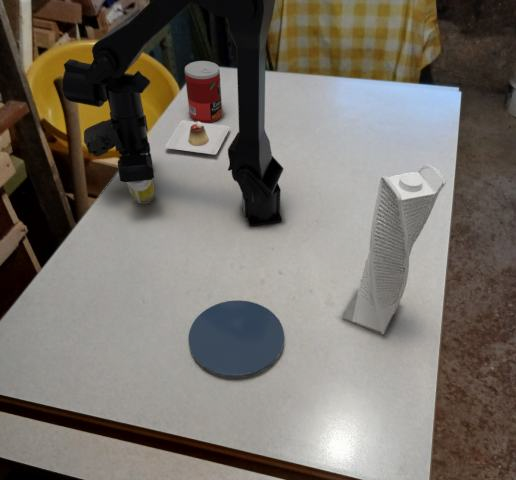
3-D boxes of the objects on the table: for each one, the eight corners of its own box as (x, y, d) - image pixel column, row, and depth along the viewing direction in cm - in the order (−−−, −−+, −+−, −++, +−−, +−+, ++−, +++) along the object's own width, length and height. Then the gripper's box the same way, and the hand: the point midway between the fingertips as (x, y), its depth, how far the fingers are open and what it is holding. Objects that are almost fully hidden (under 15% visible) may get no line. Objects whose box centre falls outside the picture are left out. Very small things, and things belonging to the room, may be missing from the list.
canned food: (218, 125, 120) (214, 77, 111) (185, 121, 121) (179, 74, 112) (225, 109, 125) (223, 62, 116) (194, 105, 126) (189, 59, 117)
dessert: (164, 152, 113) (161, 131, 109) (182, 124, 120) (179, 104, 116) (216, 159, 111) (214, 138, 107) (230, 130, 118) (229, 110, 114)
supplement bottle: (158, 185, 103) (153, 165, 94) (151, 206, 102) (145, 188, 94) (135, 178, 102) (128, 157, 94) (128, 199, 102) (120, 180, 93)
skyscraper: (406, 310, 84) (458, 158, 62) (389, 343, 80) (439, 194, 58) (359, 292, 87) (392, 140, 65) (340, 324, 82) (369, 173, 60)
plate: (271, 299, 86) (271, 293, 85) (294, 370, 77) (294, 365, 76) (183, 314, 84) (182, 308, 83) (196, 388, 75) (195, 383, 74)
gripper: (80, 86, 95) (99, 160, 107) (80, 144, 84) (101, 217, 97) (140, 82, 96) (152, 155, 109) (148, 138, 86) (160, 211, 98)
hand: (140, 183), depth 103 cm, fingers closed
